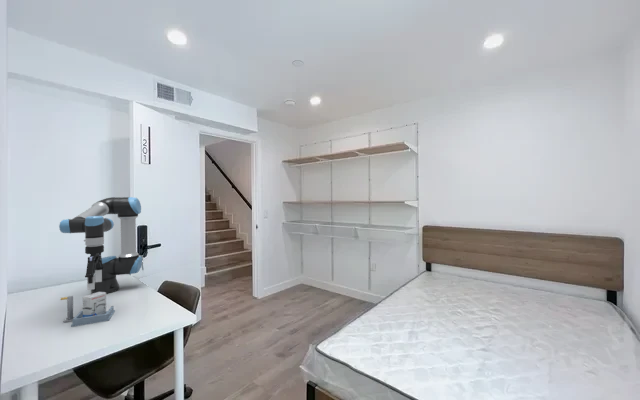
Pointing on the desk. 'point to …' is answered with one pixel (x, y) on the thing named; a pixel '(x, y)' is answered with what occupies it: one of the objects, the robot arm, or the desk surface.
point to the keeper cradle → (84, 320)
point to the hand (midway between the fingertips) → (94, 285)
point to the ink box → (94, 304)
